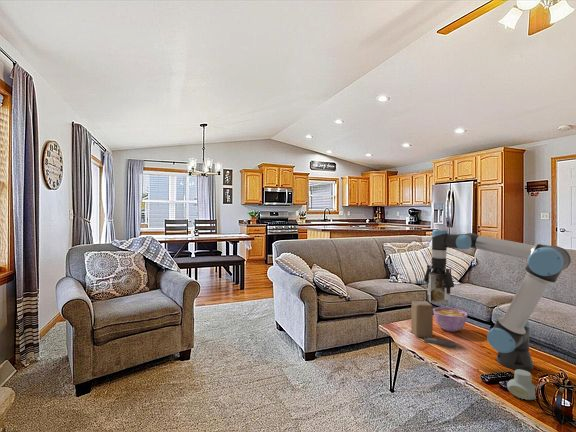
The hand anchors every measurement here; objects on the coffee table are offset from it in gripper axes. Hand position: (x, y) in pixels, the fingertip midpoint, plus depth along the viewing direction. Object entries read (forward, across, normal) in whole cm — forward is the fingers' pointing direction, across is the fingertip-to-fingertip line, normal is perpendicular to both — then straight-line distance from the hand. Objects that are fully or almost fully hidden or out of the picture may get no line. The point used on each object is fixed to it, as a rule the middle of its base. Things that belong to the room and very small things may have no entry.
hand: (438, 296), depth 183 cm
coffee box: (+3, 0, 0) cm, 3 cm away
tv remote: (+30, +4, -7) cm, 31 cm away
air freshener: (+29, -48, +8) cm, 57 cm away
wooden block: (+30, +18, -9) cm, 36 cm away
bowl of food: (+30, +16, -33) cm, 47 cm away
